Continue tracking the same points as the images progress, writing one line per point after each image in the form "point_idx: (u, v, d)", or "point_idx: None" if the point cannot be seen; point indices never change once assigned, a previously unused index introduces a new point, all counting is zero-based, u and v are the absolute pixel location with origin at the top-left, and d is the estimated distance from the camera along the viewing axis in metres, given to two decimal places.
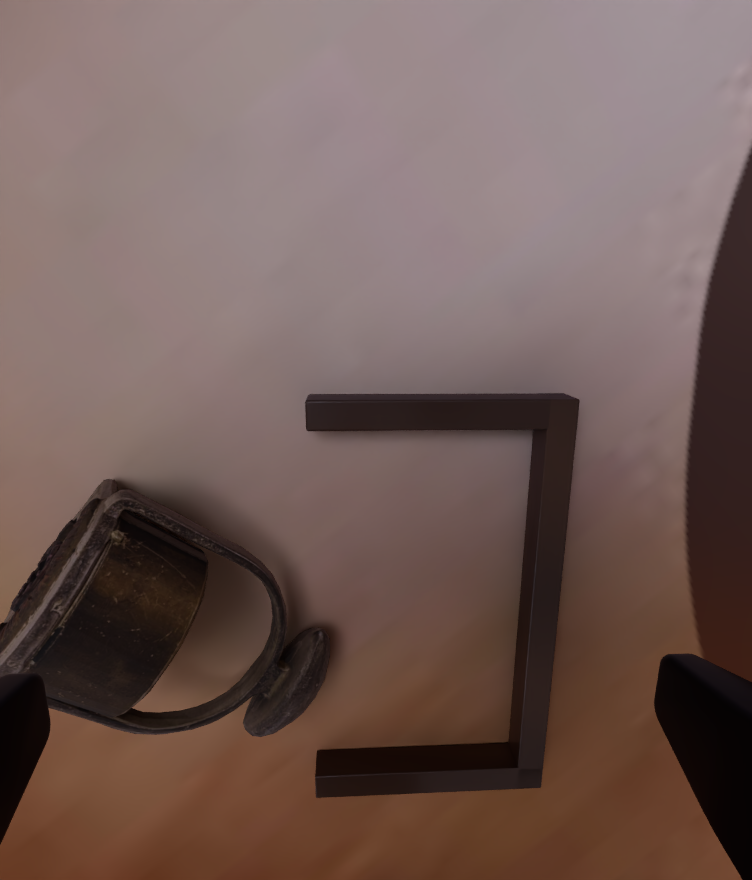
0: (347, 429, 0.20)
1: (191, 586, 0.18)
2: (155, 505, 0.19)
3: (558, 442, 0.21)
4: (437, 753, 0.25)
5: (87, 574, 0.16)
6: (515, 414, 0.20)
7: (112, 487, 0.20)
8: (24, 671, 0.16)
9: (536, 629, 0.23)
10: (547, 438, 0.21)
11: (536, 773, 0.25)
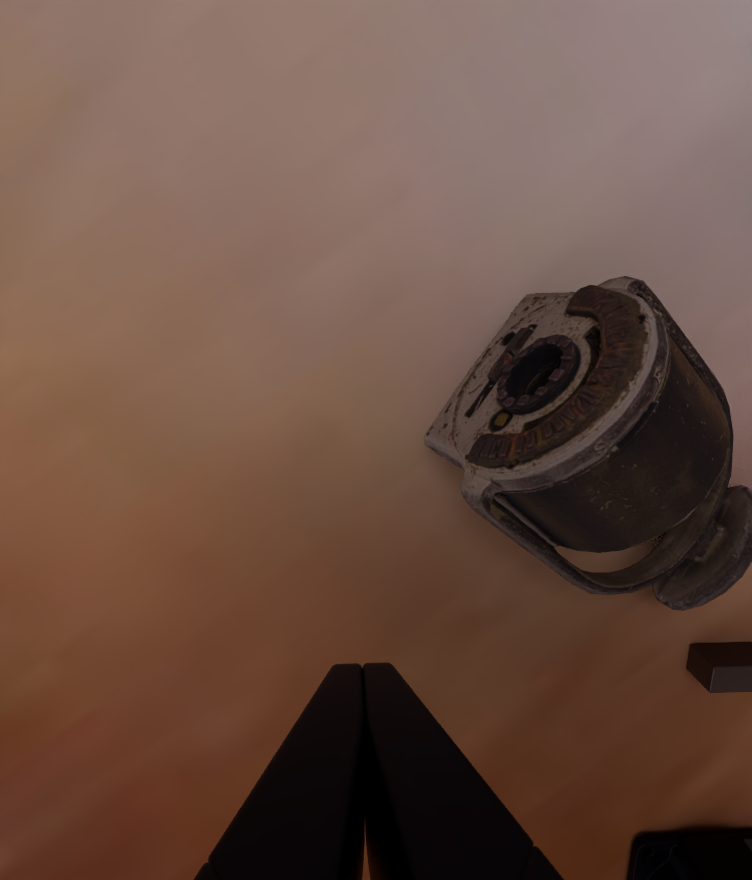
0: None
1: (710, 392, 0.15)
2: None
3: None
4: None
5: (667, 343, 0.13)
6: None
7: None
8: (601, 461, 0.13)
9: None
10: None
11: None
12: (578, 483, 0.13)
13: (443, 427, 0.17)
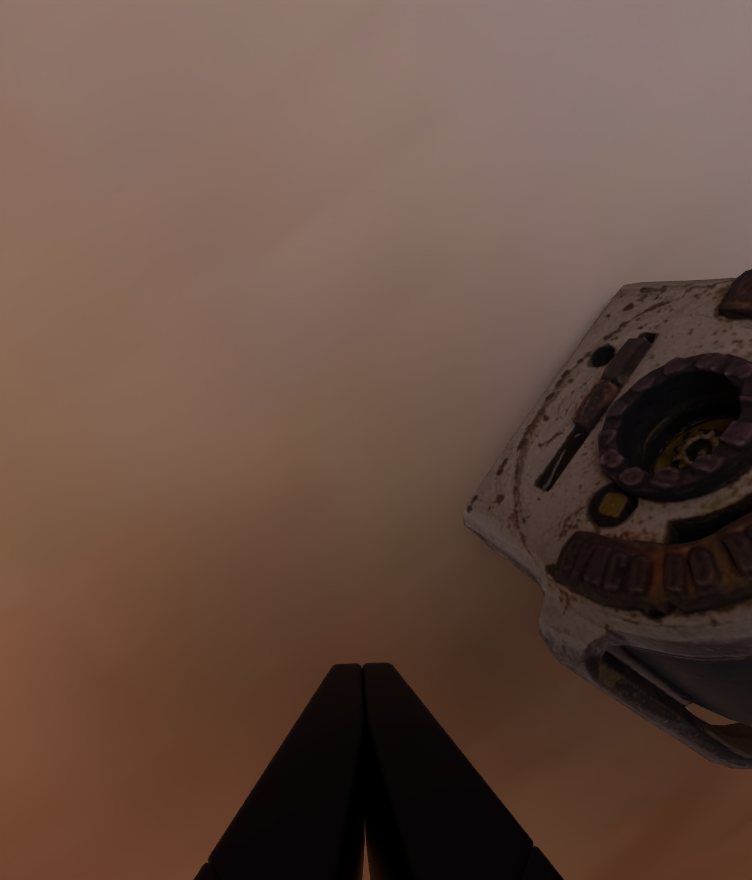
0: None
1: None
2: None
3: None
4: None
5: None
6: None
7: None
8: None
9: None
10: None
11: None
12: None
13: (496, 501, 0.10)
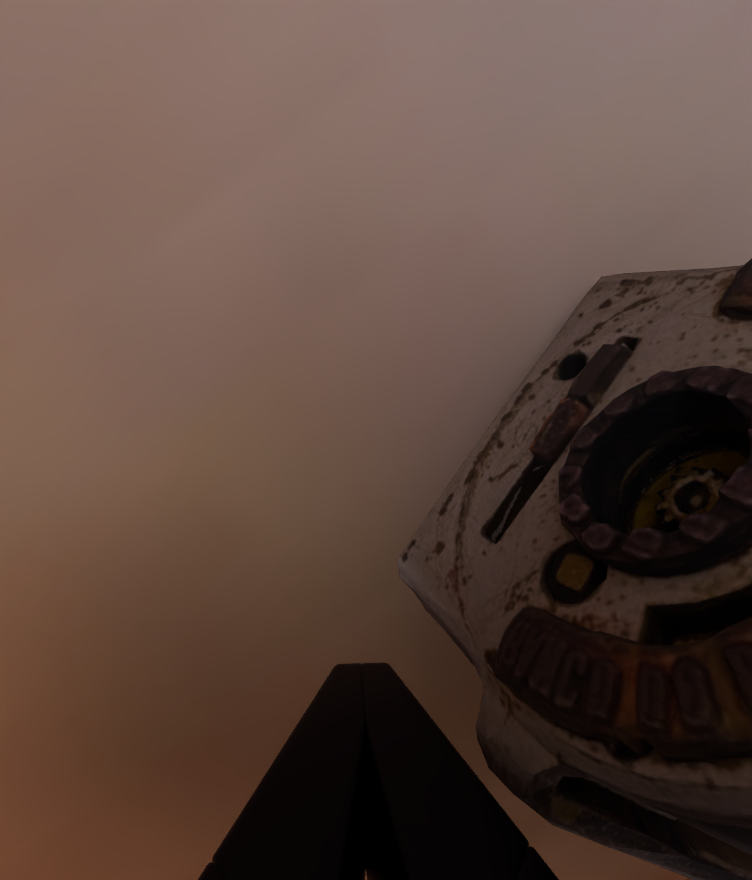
0: None
1: None
2: None
3: None
4: None
5: None
6: None
7: None
8: None
9: None
10: None
11: None
12: None
13: (435, 550, 0.08)
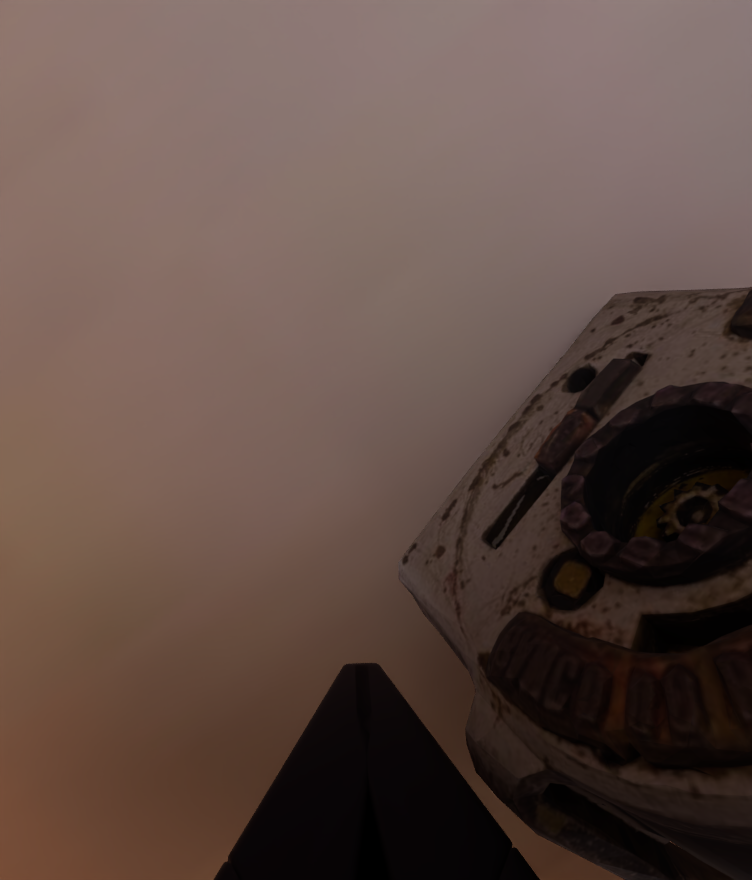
0: None
1: None
2: None
3: None
4: None
5: None
6: None
7: None
8: None
9: None
10: None
11: None
12: None
13: (436, 554, 0.08)
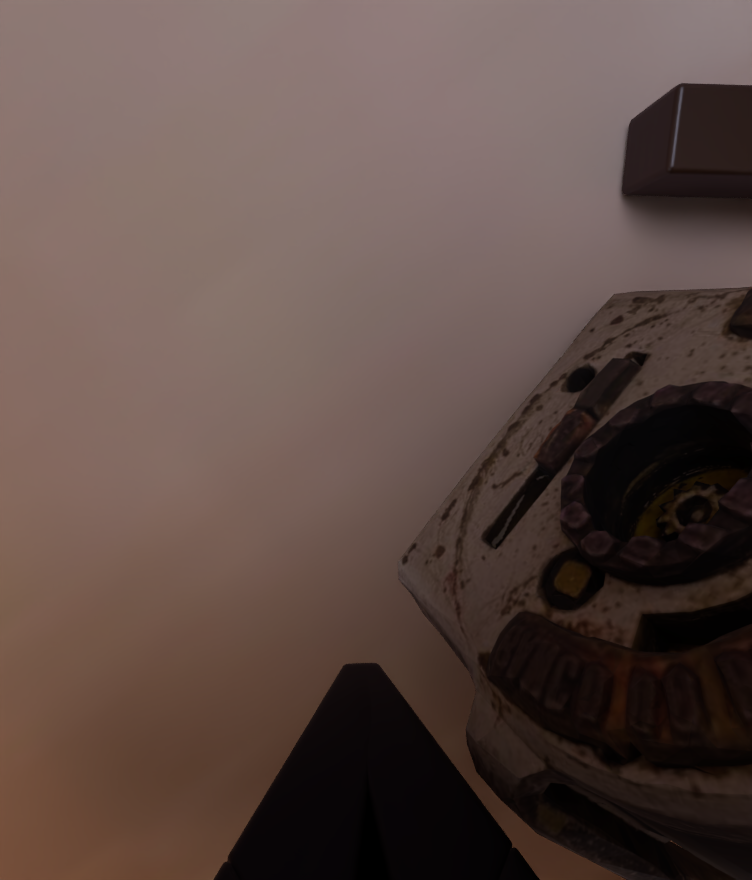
0: None
1: None
2: None
3: None
4: None
5: None
6: None
7: None
8: None
9: None
10: None
11: None
12: None
13: (436, 554, 0.08)
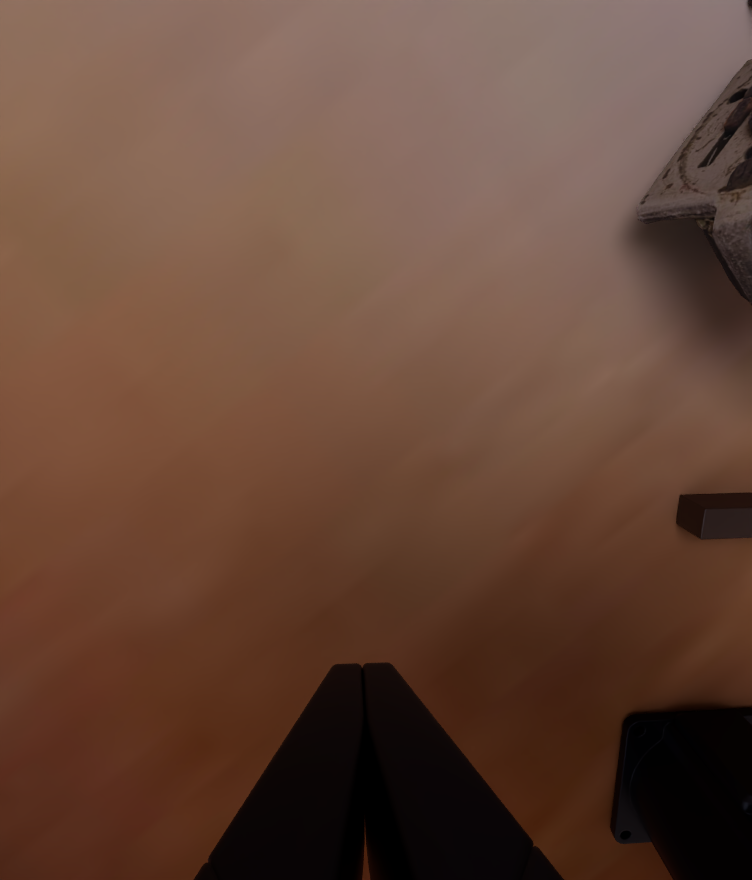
0: None
1: None
2: None
3: None
4: None
5: None
6: None
7: None
8: None
9: None
10: None
11: None
12: None
13: (666, 188, 0.15)
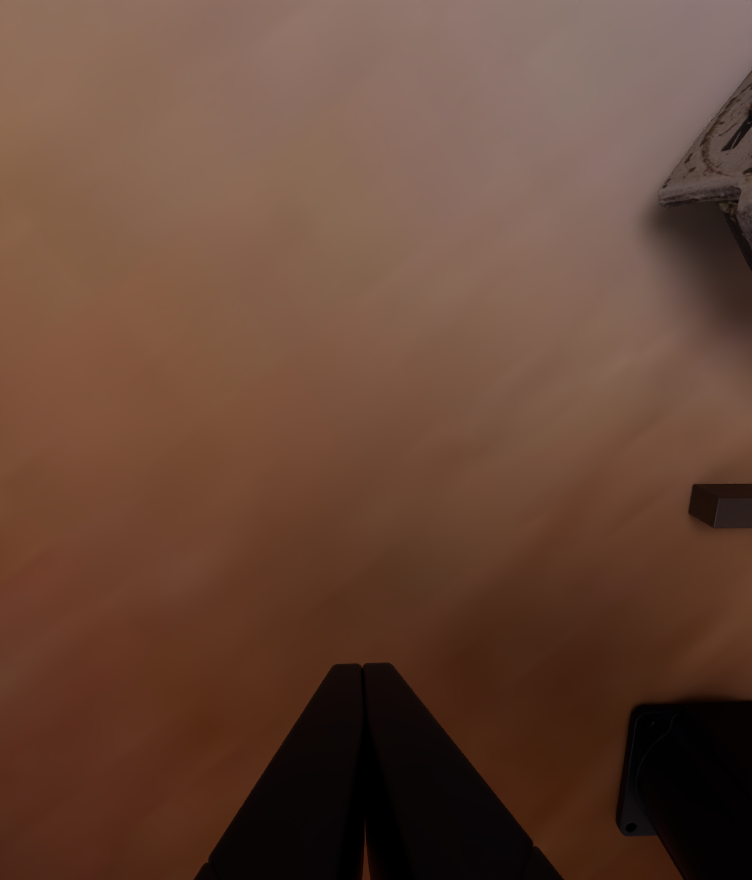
0: None
1: None
2: None
3: None
4: None
5: None
6: None
7: None
8: None
9: None
10: None
11: None
12: None
13: (689, 172, 0.15)
